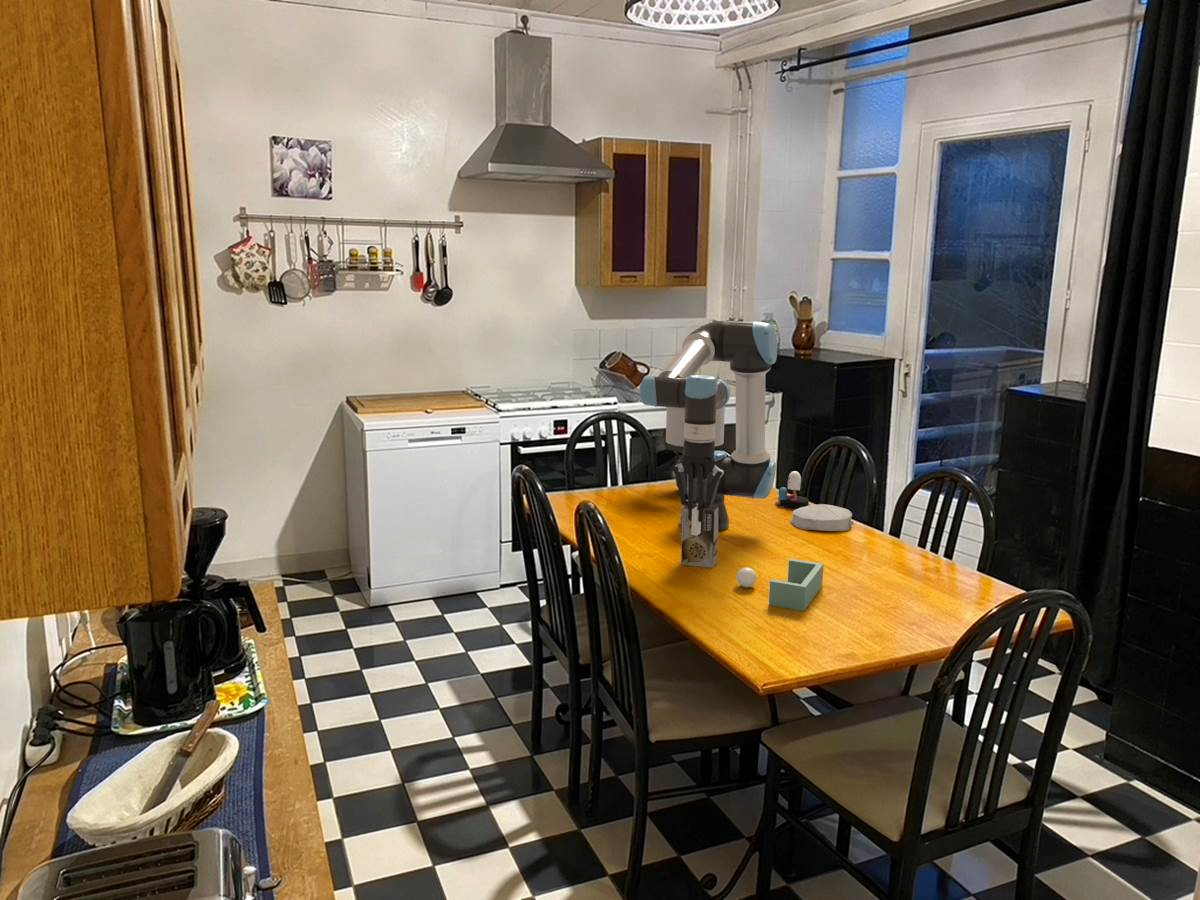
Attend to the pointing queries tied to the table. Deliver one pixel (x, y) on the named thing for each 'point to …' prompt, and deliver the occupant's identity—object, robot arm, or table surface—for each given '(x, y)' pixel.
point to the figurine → (793, 500)
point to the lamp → (676, 429)
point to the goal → (797, 585)
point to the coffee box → (700, 539)
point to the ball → (746, 577)
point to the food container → (822, 518)
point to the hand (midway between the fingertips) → (695, 533)
